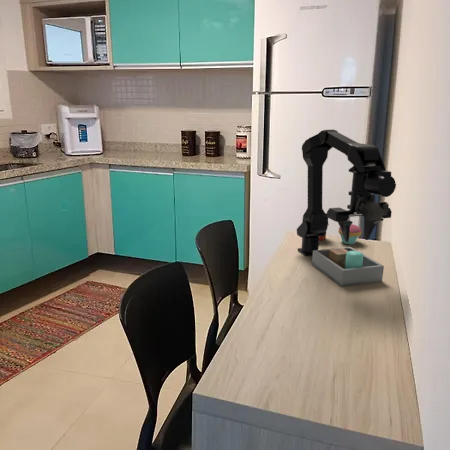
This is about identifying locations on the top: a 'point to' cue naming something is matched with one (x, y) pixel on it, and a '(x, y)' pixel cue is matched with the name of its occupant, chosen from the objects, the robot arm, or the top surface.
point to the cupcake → (351, 234)
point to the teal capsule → (353, 259)
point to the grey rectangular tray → (348, 277)
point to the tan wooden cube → (338, 256)
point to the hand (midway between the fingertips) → (356, 240)
